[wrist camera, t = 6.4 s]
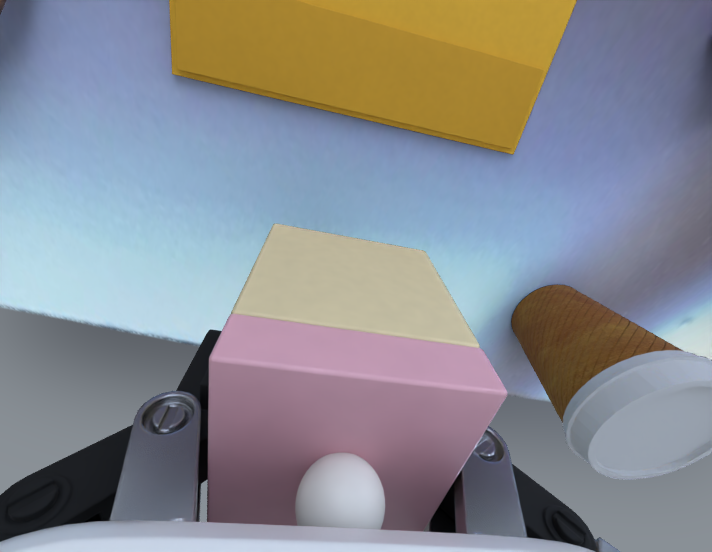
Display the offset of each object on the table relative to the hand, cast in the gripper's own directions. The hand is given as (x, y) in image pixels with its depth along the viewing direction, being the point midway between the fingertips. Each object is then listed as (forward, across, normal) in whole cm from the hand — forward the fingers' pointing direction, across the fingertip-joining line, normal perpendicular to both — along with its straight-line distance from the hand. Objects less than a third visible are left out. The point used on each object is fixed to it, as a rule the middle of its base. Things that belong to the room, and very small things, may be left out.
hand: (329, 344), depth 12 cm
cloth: (+14, 0, -12) cm, 18 cm away
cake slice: (+1, 0, 0) cm, 1 cm away
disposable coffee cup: (+14, -20, +5) cm, 25 cm away
